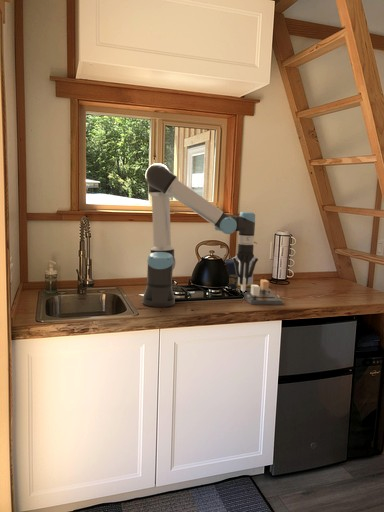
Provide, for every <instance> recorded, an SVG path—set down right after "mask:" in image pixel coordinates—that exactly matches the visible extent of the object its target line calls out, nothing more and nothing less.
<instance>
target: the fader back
mask: <svg viewBox="0 0 384 512" xmlns="http://www.w3.org/2000/svg"><path fill="white" fill-rule="evenodd" d="M269 286H270V281H268V280H267V279H260V283H259V287H260V288H261V289H263V291H265V290H268V289H269Z"/></svg>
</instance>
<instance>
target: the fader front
mask: <svg viewBox="0 0 384 512" xmlns="http://www.w3.org/2000/svg"><path fill="white" fill-rule="evenodd" d="M250 288H251V294H252V295H253V296H254V297H256V296H259V293H260V285H258V284H253V285H251V287H250Z"/></svg>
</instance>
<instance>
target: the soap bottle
mask: <svg viewBox="0 0 384 512" xmlns="http://www.w3.org/2000/svg"><path fill="white" fill-rule="evenodd" d="M253 244H256V245H257V244H258V242H256V241H254V243H253ZM237 261H238V262H239V274H240V261H239V260H237ZM252 261H253V260H251V261H250V263H249V271H250V267H251V264H252ZM243 278H245V263H244V273H243ZM251 285H254V273H253V274H252V277H249V278H248V284H247V285H246V288H251ZM238 287H239V288H241V284H240V277H238Z"/></svg>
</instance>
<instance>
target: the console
mask: <svg viewBox="0 0 384 512" xmlns="http://www.w3.org/2000/svg"><path fill="white" fill-rule="evenodd" d="M238 289H239V290H241V287H238ZM238 289H237V290H238ZM245 290H246V291H247V292H245V293H244V292H242V293H243V295H244V297H245V298H244V297H243V298H244V299H245V301H247V302H248V303H249V304H250V305H269V306H270V305H273V306H274V305H275V306H276V305H277V306H279V305H280V306H282V305H283V302H284V301H283V300H282V299H281V297H280V295H278V294H276V295H275V294H274V293H273V292H272V289H270V288H268V290H265V291H263V289H261V288H260V293H259V296H256V297H254V296H253V295H252V294H251V287H246V288H245Z"/></svg>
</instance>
